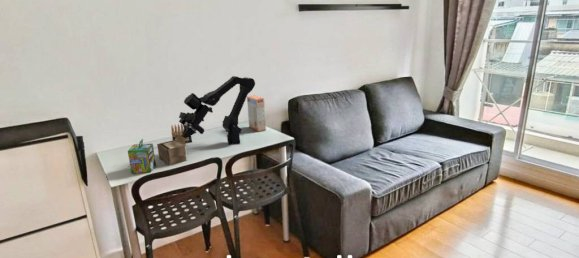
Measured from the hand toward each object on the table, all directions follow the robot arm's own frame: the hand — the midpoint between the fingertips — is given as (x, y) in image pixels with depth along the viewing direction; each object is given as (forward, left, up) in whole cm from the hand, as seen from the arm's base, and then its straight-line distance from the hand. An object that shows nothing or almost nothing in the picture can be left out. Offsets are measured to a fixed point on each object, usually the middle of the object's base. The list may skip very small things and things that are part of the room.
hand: (181, 139), depth 176 cm
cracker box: (-40, -42, -9) cm, 58 cm away
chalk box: (+17, +13, -10) cm, 23 cm away
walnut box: (+5, +3, -9) cm, 11 cm away
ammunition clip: (+5, -23, -10) cm, 25 cm away
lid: (+3, +2, -2) cm, 5 cm away
